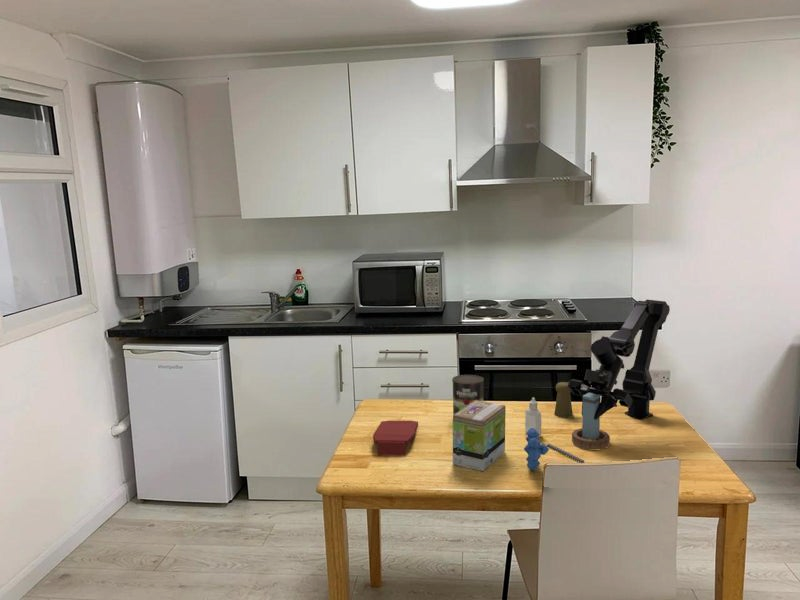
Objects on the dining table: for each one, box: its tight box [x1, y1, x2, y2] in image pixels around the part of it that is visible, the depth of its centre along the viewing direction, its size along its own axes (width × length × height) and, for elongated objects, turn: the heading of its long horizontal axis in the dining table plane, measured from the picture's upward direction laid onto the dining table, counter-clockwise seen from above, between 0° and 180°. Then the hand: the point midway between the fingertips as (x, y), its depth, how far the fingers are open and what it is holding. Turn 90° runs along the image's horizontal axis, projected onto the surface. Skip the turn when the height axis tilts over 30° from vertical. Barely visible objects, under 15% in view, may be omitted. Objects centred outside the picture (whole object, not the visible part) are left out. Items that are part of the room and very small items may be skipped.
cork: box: [554, 381, 574, 419], centre depth 208 cm, size 6×6×11 cm
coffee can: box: [451, 374, 485, 416], centre depth 207 cm, size 10×10×14 cm
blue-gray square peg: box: [581, 393, 601, 440], centre depth 184 cm, size 4×4×13 cm
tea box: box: [452, 400, 507, 472], centre depth 176 cm, size 15×10×15 cm, turn 148°
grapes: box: [523, 428, 550, 471], centre depth 168 cm, size 12×7×12 cm, turn 172°
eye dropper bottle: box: [524, 397, 542, 438], centre depth 192 cm, size 4×6×12 cm
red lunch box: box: [372, 419, 419, 456], centre depth 194 cm, size 12×5×25 cm
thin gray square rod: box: [546, 443, 585, 463], centre depth 178 cm, size 1×14×1 cm, turn 28°
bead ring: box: [571, 428, 611, 450], centre depth 185 cm, size 10×10×2 cm
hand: (588, 417), depth 183 cm, fingers closed on blue-gray square peg, 4 cm apart
